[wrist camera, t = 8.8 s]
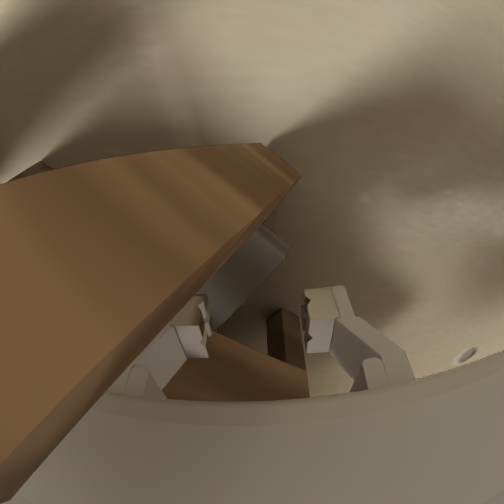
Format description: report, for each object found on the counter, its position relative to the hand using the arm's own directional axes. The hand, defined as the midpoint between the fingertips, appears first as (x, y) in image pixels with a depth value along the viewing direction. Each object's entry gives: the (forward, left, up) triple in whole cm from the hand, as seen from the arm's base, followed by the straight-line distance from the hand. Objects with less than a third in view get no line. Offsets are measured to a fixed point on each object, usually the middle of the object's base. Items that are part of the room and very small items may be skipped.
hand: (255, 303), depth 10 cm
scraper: (-5, +1, -5) cm, 7 cm away
